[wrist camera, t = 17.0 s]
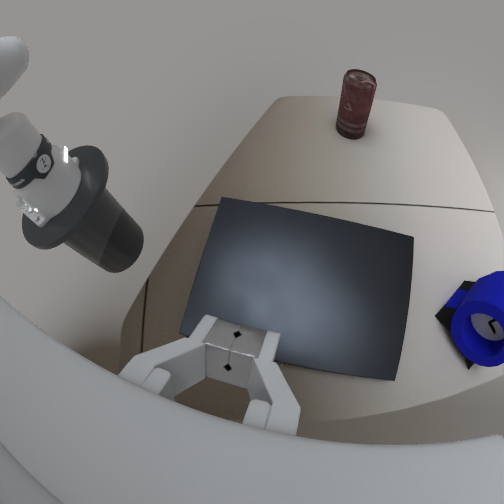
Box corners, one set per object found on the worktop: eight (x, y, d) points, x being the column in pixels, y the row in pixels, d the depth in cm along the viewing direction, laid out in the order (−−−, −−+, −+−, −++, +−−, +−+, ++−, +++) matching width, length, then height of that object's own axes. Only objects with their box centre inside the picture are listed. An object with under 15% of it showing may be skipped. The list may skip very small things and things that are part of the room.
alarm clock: (432, 318, 34) (492, 293, 20) (469, 273, 36) (522, 238, 22) (465, 373, 30) (528, 367, 16) (499, 324, 31) (555, 303, 18)
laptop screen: (223, 199, 42) (221, 196, 41) (411, 239, 36) (413, 236, 35) (181, 333, 36) (178, 333, 35) (392, 380, 30) (394, 380, 29)
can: (356, 144, 48) (370, 89, 35) (330, 129, 50) (338, 73, 37) (369, 131, 49) (384, 79, 36) (345, 117, 51) (354, 64, 38)
